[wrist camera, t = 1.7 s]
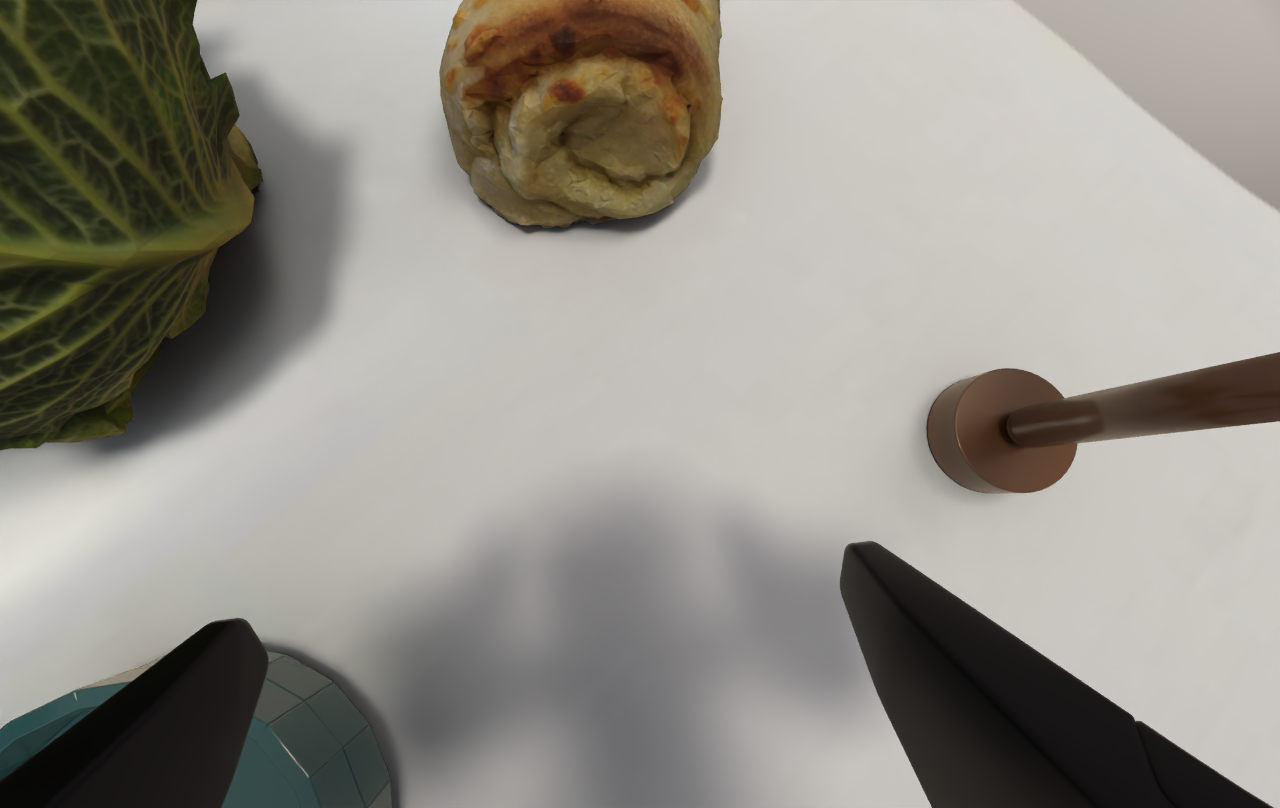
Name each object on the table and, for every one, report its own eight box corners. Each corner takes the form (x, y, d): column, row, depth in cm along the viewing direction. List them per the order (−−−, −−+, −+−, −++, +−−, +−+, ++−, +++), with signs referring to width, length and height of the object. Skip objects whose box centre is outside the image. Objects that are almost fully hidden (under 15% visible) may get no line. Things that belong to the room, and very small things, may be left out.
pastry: (538, 295, 24) (495, 197, 16) (401, 80, 25) (300, -107, 17) (796, 144, 25) (873, -14, 18) (653, -50, 27) (665, -275, 19)
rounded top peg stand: (1056, 411, 24) (1622, 305, 10) (1015, 514, 23) (1570, 544, 9) (952, 358, 24) (1371, 187, 11) (908, 458, 23) (1300, 411, 10)
